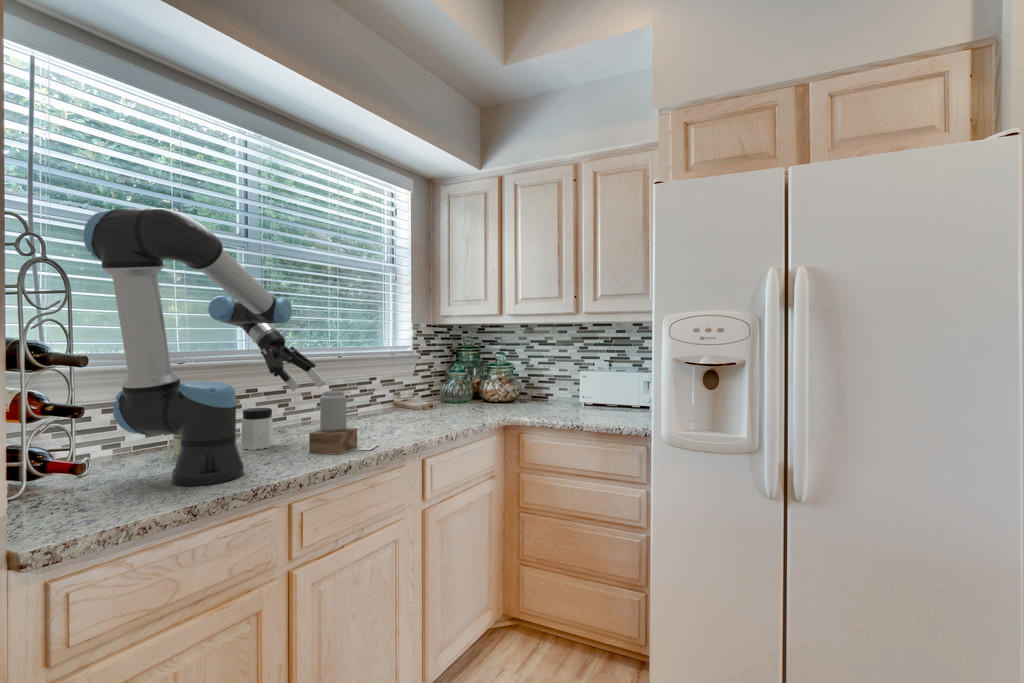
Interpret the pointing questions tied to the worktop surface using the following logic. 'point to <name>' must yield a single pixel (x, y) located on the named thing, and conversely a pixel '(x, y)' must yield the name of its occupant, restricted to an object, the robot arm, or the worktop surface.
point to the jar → (257, 428)
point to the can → (333, 411)
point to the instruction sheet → (370, 446)
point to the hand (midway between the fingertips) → (309, 386)
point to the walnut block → (332, 441)
